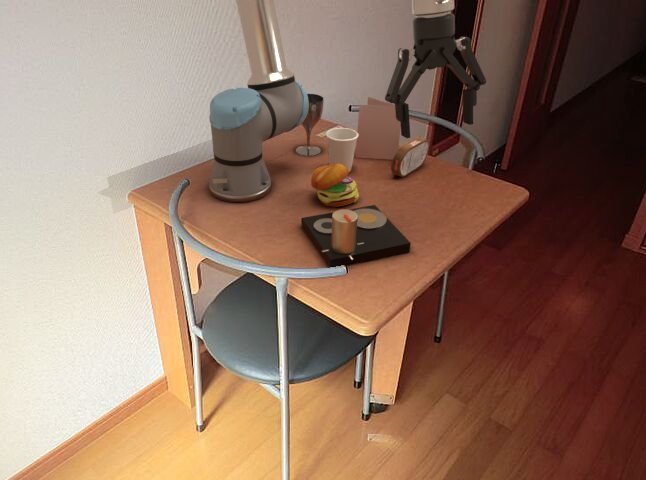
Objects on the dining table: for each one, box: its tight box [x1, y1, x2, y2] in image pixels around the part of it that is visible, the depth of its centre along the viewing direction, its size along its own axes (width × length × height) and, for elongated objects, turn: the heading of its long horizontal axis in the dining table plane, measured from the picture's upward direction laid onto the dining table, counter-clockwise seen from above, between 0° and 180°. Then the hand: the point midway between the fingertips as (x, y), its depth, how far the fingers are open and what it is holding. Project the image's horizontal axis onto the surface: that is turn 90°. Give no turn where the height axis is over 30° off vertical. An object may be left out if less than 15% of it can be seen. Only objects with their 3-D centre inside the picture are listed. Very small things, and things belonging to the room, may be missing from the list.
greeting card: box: [355, 96, 401, 161], centre depth 150 cm, size 11×7×15 cm, turn 49°
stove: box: [300, 204, 411, 268], centre depth 118 cm, size 19×19×3 cm
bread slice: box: [390, 135, 430, 178], centre depth 146 cm, size 15×3×8 cm, turn 141°
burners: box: [314, 209, 388, 234], centre depth 120 cm, size 8×17×1 cm, turn 111°
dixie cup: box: [325, 127, 358, 173], centre depth 145 cm, size 8×8×10 cm
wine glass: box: [295, 93, 324, 157], centre depth 153 cm, size 8×8×15 cm
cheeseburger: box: [310, 163, 360, 208], centre depth 132 cm, size 10×11×10 cm
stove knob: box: [331, 208, 358, 254], centre depth 110 cm, size 5×5×8 cm
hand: (437, 130), depth 111 cm, fingers open, 13 cm apart
